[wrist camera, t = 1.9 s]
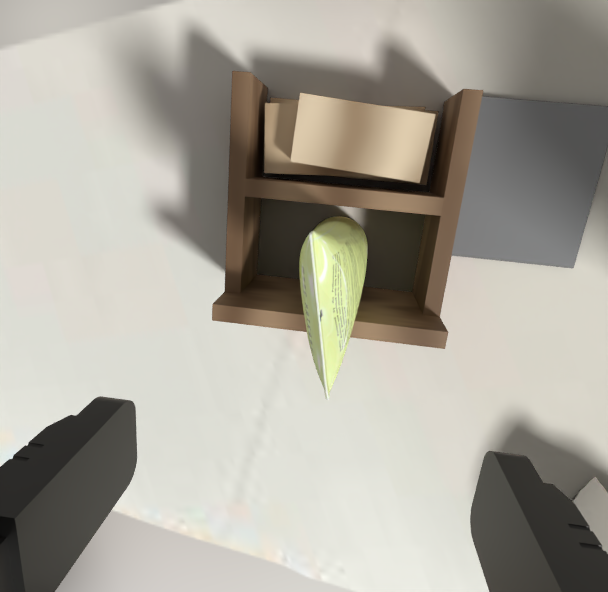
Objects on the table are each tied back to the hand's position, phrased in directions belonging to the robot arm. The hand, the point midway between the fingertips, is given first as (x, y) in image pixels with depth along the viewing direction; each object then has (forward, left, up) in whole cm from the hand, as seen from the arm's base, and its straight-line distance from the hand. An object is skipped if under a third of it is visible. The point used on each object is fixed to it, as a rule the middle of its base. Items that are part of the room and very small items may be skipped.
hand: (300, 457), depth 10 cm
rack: (0, -4, -28) cm, 29 cm away
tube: (0, 0, -29) cm, 29 cm away
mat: (-14, -6, -28) cm, 32 cm away
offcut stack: (0, -8, -28) cm, 29 cm away
